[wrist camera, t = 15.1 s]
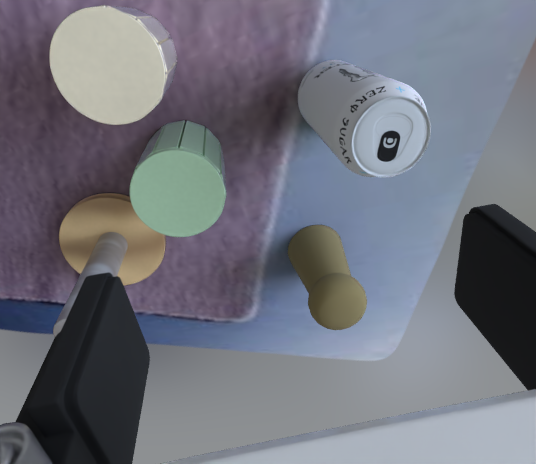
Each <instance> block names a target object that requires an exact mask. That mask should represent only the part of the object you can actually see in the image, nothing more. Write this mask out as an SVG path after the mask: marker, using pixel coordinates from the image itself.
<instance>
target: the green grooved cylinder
mask: <svg viewBox="0 0 536 464" xmlns="http://www.w3.org/2000/svg"><path fill="white" fill-rule="evenodd" d="M225 199H226V181H225V166H224V157H223V153H222V148H221V144H220V143H219V140H218V139H217V138H216V137H215V136H214V135H213V134H212V133H211V132H210V131H209V129H208V128H206V129H205V126H202V125H199V124H196V123H193V122H191V121H188V120H187V121H186V123H185V120H183V121H178V122H172V123H167V124H166V126H165V125H163V126H162V127H161V128H160V129H159V130H158V131H157V132H156V133H155V134H154V135H153V136H152V137H151V139H150V140H149V142H148V144H147V146H146V148H145V150H144V152H143V154H142V156H141V158H140V160H139V161H138V163H137V165H136V167H135V169H134V173H133V176H132V179H131V182H130V200H131V204H132V206H133V209H134V211H135V212H136V214H137V216H138V217H139V218H140V219H141V221H142V222H143V223H145V224H146V225H147V226H148V227H149V228H151V229H153V230H154V231H156V232H158V233H161V234H164V235H167V236H172V237H187V236H192V235H196V234H199V233H201V232H203V231H205V230H206V229H208V228H209V227H211V226H212V225H213V224H214V223H215V222H216V221H217V219H218V218H219V216H220V215H221V213H222V210H223V208H224V204H225Z"/></svg>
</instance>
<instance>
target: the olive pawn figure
mask: <svg viewBox="0 0 536 464" xmlns="http://www.w3.org/2000/svg"><path fill="white" fill-rule="evenodd" d="M288 256H289V259H290V262H291V263H292V265H293V267H294V269H295V270H296V272H297V274H298V275H299V277H300V279H301V281H302V282H303V284H304V286H305V287H306V289H307V291H308V293H309V298H308V306H309V309H310V312H311V315H312V317H313V318H314V319H315V320H316V321H317V323H318V324H320V325H322V326H323V327H325V328H327V329H332V330H342V329H346V328H349V327H351V326H353V325H354V324H356V323H357V322H358V321H359V320H360V319H361V318H362V316H363V314H364V313H365V310H366V305H367V299H366V294H365V291H364V289H363V287H362V286H361V284H360V283H359V282H358V281H357V280H356V279H355V278H353V277H352V276H351V274H350V270H349V267H348V263H347V260H346V256H345V253H344V249H343V246H342V242H341V239H340V237H339V235H338V234H337V232H336V231H335V230H333V229H332V228H330V227H327V226H324V225H312V226H308V227H305V228H303V229H302V230H300V231H299V232H297V233H296V234H295V235H294V237H293V238H292V239H291V241H290V243H289V246H288Z"/></svg>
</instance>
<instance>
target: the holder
mask: <svg viewBox="0 0 536 464" xmlns="http://www.w3.org/2000/svg"><path fill="white" fill-rule="evenodd" d="M59 243H60V247H61V250H62V253H63V255H64V257H65V259H66V260H67V261H68V263H69V264H70V265H71V266H72V267H73V268H74V269H75V270H76V271H77V272H78V273H80V274H81V275H80V277H79V279H78V280H77V282H76V284H75V286H74V288H73V290H72V292H71V294H70V296H69V298H68V300H67V302H66V304H65V306H64V308H63V310H62V312H61V314H60V316H59V317H58V319H57V321H56V323H55V325H54V328H53V334H54V336H55V337H56V335H57V334H58V333H59V332H61V330H62V328H63V325H64V323H65V321H66V319H67V317H68V314H69V312H70V310H71V308H72V306H73V304H74V301H75V299H76V297H77V295H78V293H79V290H80V288H81V286H82V284H83V282H84V280H85V278H86V277H87V276H90V275H96V274H101V273H107V272H110V273H111V274H112V275H113V277H116V276H118V277H120V279H121V281H122V283H123V285H130V284H133V283H137V282H139V281H142V280H143V279H145V278H147V277H148V276H150V275H151V274H152V273H153V272H154V271H155V270H156V269H157V268H158V267H159V265H160V263H161V262H162V259H163V256H164V252H165V247H166V235H164V234H161V233H158V232H156V231H154V230H153V229H151V228H149V227H148V226H147V225H146V224H145V223H143V222H142V221H141V219H140V218H139V217H138V216H137V214H136V212H135V211H134V209H133V206H132V204H131V200H130V197H129V196H126V195H122V194H115V193H103V194H96V195H92V196H89V197H87V198H85V199H83V200H81V201H79V202H78V203H77V204H75V205H74V206H73V207H72V208H71V209H70V211H69V212H68V213H67V215H66V216H65V218H64V219H63V221H62V224H61V226H60V230H59Z"/></svg>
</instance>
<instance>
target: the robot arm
mask: <svg viewBox="0 0 536 464" xmlns="http://www.w3.org/2000/svg"><path fill="white" fill-rule="evenodd" d="M455 299H456V301H457V303H458V305H459V306H460V308H461V309H462V310H463V311H464V312H465V314H466V315H467V316H468V317H469V319H470V320H471V321H472V322H473V323H474V325H475V326H476V327H477V328H478V330H479V331H480V332H481V333H482V335H483V336H484V337H485V338H486V339H487V341H488V342H489V343H490V344H491V346H492V347H493V348H494V349H495V351H496V352H497V353H498V354H499V355H500V357H501V358H502V359H503V360H504V362H505V363H506V364H507V365H508V366H509V368H510V369H511V370H512V371H513V373H514V374H515V375H516V376H517V378H518V379H519V380H520V381H521V382H522V384H523V385H524V386H525V387H526V389H527V390H528V391H523V392H518V393H512V394H507V395H502V396H497V397H491V398H486V399H481V400H475V401H470V402H465V403H460V404H455V405H449V406H444V407H439V408H433V409H428V410H424V411H418V412H413V413H408V414H403V415H398V416H393V417H387V418H382V419H377V420H372V421H367V422H362V423H357V424H352V425H347V426H342V427H337V428H332V429H326V430H321V431H316V432H311V433H306V434H301V435H297V436H291V437H287V438H281V439H276V440H271V441H266V442H262V443H257V444H252V445H247V446H242V447H237V448H232V449H227V450H222V451H217V452H212V453H208V454H202V455H197V456H193V457H188V458H183V459H179V460H174V461H170V462H166V463H160V464H536V232H535V231H533V230H532V229H531V228H529V227H528V226H526V225H525V224H524V223H522V222H521V221H519V220H518V219H517V218H515V217H514V216H512V215H511V214H509V213H508V212H507V211H505V210H504V209H502V208H501V207H500V206H498V205H496V204H491V205H485V206H480V207H474V208H472V209H471V210H470V212H469V214H467V215H465V217H464V220H463V228H462V236H461V244H460V252H459V260H458V268H457V276H456V283H455ZM149 358H150V357H149V350H148V347H147V345H146V342H145V339H144V337H143V334H142V332H141V329H140V327H139V324H138V322H137V319H136V316H135V314H134V311H133V309H132V306H131V304H130V301H129V299H128V296H127V293H126V291H125V288H124V286H123V283H122V281H121V279H120V277H118V276H116V277H113V275H112V274H111V273H110V272H107V273H101V274H96V275H90V276H87V277H86V278H85V280H84V282H83V284H82V286H81V288H80V290H79V293H78V295H77V297H76V299H75V301H74V304H73V306H72V308H71V310H70V312H69V314H68V317H67V319H66V321H65V323H64V325H63V328H62V330H61V332H59V333H58V334H57V335H56V337H55V339H54V341H53V343H52V345H51V347H50V349H49V351H48V354H47V356H46V358H45V360H44V362H43V364H42V366H41V369H40V371H39V373H38V375H37V377H36V379H35V382H34V384H33V386H32V388H31V390H30V392H29V394H28V397H27V399H26V401H25V403H24V405H23V407H22V410H21V411H20V414H19V416H18V418H17V420H16V422H12V423H5V424H2V425H0V464H132V461H133V454H134V449H135V443H136V438H137V432H138V426H139V420H140V414H141V409H142V403H143V397H144V391H145V385H146V379H147V374H148V368H149V360H150V359H149Z"/></svg>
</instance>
